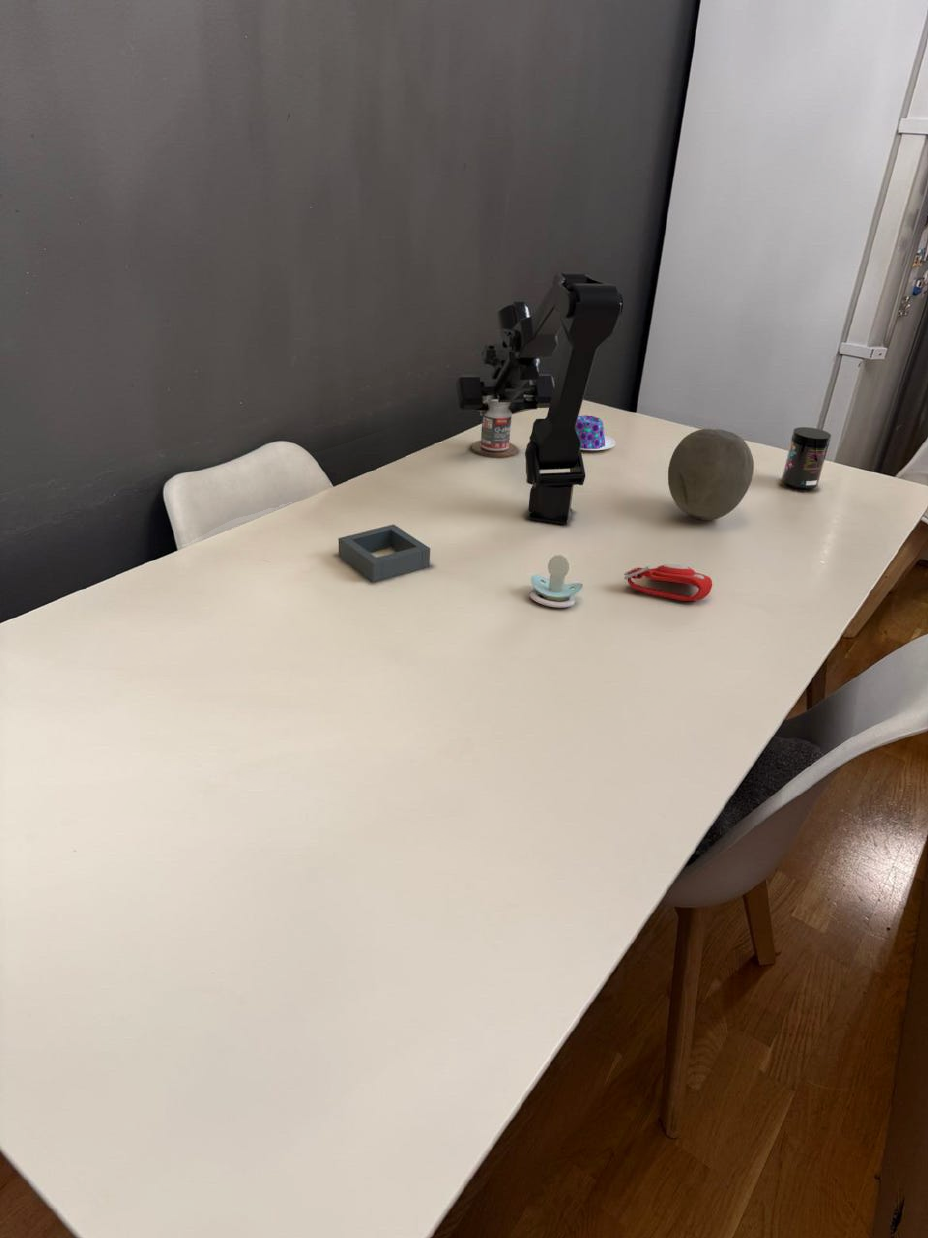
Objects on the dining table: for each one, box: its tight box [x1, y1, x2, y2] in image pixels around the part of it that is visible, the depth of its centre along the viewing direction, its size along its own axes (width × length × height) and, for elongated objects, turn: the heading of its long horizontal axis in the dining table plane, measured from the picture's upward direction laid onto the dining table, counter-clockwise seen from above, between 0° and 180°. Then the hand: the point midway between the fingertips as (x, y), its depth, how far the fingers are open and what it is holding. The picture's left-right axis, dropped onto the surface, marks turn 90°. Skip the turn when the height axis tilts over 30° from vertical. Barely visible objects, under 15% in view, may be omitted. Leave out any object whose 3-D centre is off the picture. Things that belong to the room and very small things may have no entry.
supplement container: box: [781, 426, 832, 492], centre depth 166 cm, size 7×7×10 cm
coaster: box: [471, 440, 518, 458], centre depth 177 cm, size 9×9×1 cm
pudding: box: [575, 414, 616, 451], centre depth 182 cm, size 12×12×5 cm
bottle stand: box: [337, 524, 431, 583], centre depth 131 cm, size 10×10×3 cm
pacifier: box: [529, 554, 583, 608], centre depth 123 cm, size 7×6×6 cm
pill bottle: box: [480, 395, 513, 451], centre depth 174 cm, size 6×6×10 cm
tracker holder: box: [623, 564, 713, 602], centre depth 127 cm, size 12×4×10 cm
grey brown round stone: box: [667, 428, 755, 522], centre depth 150 cm, size 14×14×15 cm
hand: (495, 412), depth 174 cm, fingers closed on pill bottle, 6 cm apart
